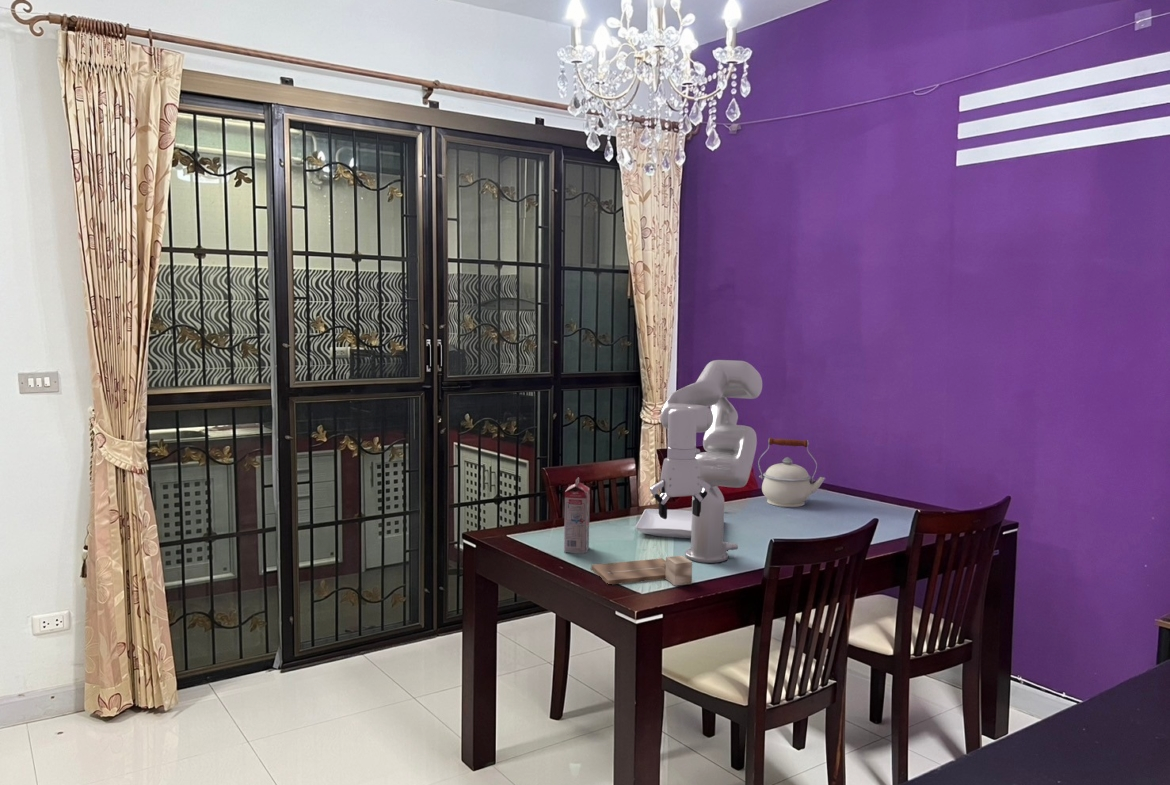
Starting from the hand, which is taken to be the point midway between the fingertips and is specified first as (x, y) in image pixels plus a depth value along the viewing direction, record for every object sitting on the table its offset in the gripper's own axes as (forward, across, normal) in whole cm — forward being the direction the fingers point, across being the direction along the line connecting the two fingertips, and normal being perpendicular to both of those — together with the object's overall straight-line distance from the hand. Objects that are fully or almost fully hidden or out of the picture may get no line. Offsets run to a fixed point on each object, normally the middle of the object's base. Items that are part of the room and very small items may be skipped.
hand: (679, 516), depth 224 cm
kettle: (+18, -81, -72) cm, 110 cm away
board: (+18, +8, -10) cm, 22 cm away
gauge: (+18, 0, -3) cm, 18 cm away
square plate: (+19, -24, -50) cm, 58 cm away
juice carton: (+18, +17, -36) cm, 44 cm away
